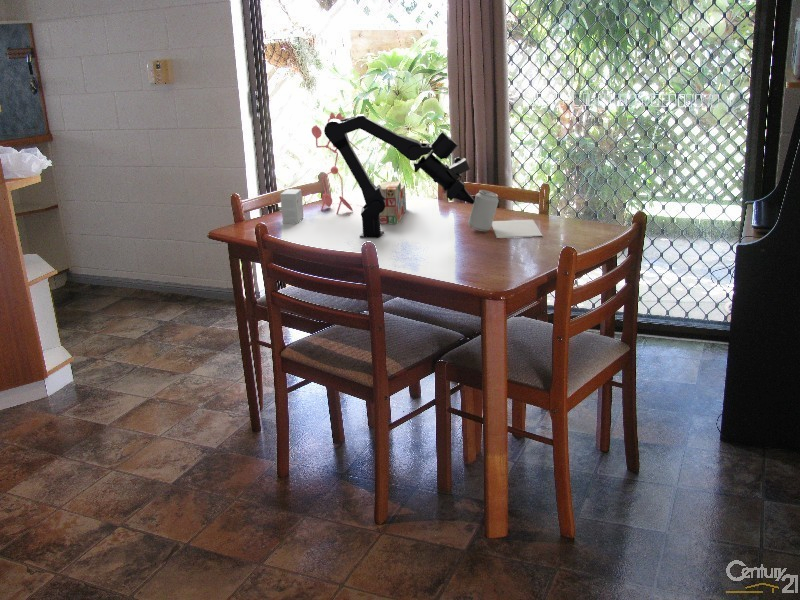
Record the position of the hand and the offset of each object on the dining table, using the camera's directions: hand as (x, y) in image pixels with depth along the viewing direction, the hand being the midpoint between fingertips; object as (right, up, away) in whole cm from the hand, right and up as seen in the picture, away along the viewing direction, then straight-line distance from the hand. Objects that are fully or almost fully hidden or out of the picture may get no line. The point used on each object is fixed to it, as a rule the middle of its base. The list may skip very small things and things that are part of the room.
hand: (473, 202), depth 256 cm
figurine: (-44, +2, +41) cm, 61 cm away
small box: (-61, -3, +27) cm, 67 cm away
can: (+2, -8, +3) cm, 9 cm away
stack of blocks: (-26, -2, +27) cm, 38 cm away
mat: (+14, -8, +3) cm, 16 cm away
